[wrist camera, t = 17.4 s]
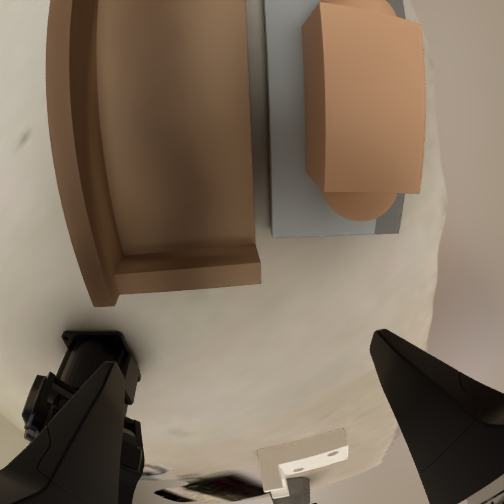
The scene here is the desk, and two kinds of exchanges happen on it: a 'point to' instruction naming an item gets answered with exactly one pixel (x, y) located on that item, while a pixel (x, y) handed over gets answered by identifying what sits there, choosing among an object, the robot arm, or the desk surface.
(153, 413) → the desk surface
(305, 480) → the coffeepot
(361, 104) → the dome topped block
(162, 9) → the tray
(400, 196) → the panel
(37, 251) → the desk surface
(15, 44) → the desk surface
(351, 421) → the desk surface
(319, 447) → the bracket
